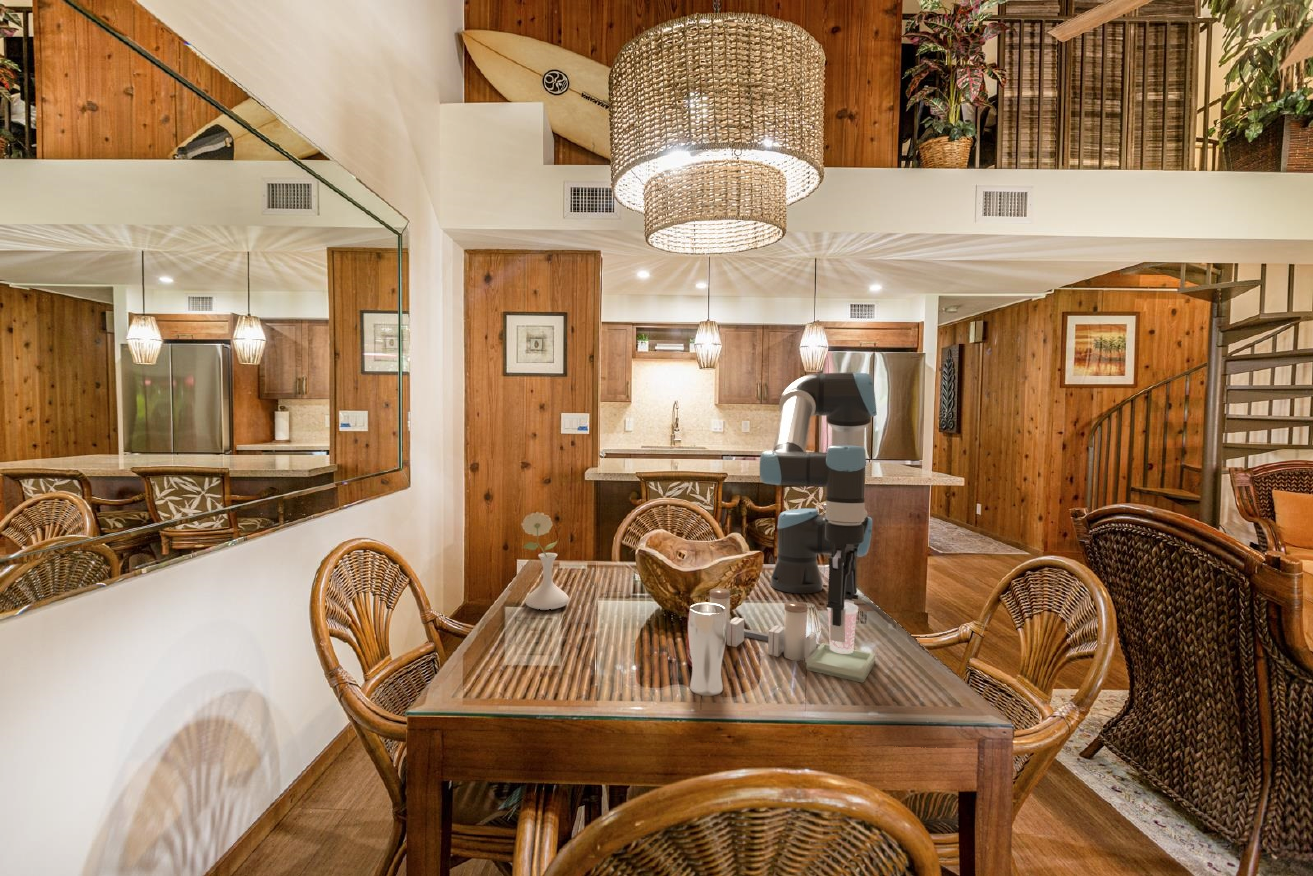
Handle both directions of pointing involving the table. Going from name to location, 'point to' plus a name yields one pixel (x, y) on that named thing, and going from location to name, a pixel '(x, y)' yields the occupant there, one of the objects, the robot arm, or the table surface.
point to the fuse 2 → (795, 630)
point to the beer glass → (707, 647)
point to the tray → (841, 663)
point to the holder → (766, 637)
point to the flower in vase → (547, 591)
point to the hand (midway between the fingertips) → (841, 635)
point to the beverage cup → (849, 630)
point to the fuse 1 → (721, 601)
